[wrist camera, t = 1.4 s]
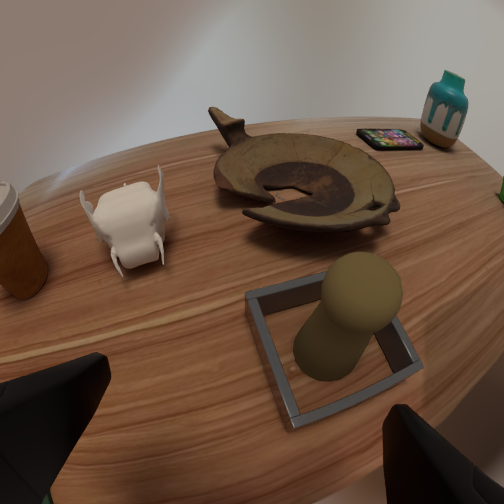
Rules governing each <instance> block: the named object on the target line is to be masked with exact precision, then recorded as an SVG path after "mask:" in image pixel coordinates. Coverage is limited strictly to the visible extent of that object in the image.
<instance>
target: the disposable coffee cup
mask: <svg viewBox="0 0 504 504" xmlns="http://www.w3.org/2000/svg"><path fill="white" fill-rule="evenodd" d="M47 273H48V267H47V264H46V262H45V260H44V258H43V256H42V254H41V252H40V250H39V248H38V246H37V244H36V242H35V240H34V237H33V235H32V233H31V231H30V228H29V226H28V224H27V221H26V219H25V216H24V214H23V211H22V209H21V206H20V204H19V193H18V190H17V189H16V188H14V187H12V186H11V184H10V183H9V182H6V181H2V182H0V284H1V285H2V286H3V287H4V288H6V289H7V290H8V291H9V292H10V293H12V294H13V295H14V296H15V297H16V298H18V299H27V298H30V297H32V296H33V295H34V294H36V293H37V292H38V291H39V290H40V288H41V287H42V286H43V284H44V282H45V280H46V277H47Z"/></svg>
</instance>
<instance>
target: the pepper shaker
mask: <svg viewBox="0 0 504 504" xmlns="http://www.w3.org/2000/svg"><path fill="white" fill-rule="evenodd" d="M402 297H403V291H402V285H401V280H400V277H399V275H398V274H397V272H396V270H395V269H394V268H393V267H392V266H391V264H390V263H389V262H387V261H386V260H384V259H383V258H381V257H380V256H377V255H375V254H372V253H368V252H353V253H349V254H347V255H345V256H343V257H340V258H338V259H337V260H336V261H335V262H334V263H333V264H332V265H331V266H330V268H329V269H328V270H327V272H326V274H325V277H324V279H323V282H322V285H321V302H320V304H319V305H318V306H317V308H316V309H315V311H314V312H313V313H312V315H311V316H310V317H309V319H308V320H307V322H306V323H305V324H304V326H303V327H302V328H301V330H300V331H299V332H298V334H297V336H296V338H295V341H294V349H293V352H294V356H295V360H296V362H297V364H298V365H299V367H300V368H301V370H302V371H303V372H305V373H306V374H307V375H308V376H310V377H312V378H314V379H317V380H320V381H334V380H338V379H341V378H343V377H344V376H346V375H348V374H349V373H350V372H351V371H352V369H353V368H354V367H355V365H356V364H357V362H358V360H359V359H360V357H361V355H362V353H363V352H364V350H365V348H366V346H367V344H368V343H369V341H370V339H371V337H372V335H373V333H374V332H377V331H379V330H381V329H382V328H384V327H385V326H387V325H388V324H389V323H390V322H391V321H392V320H393V319H394V318H395V316H396V314H397V313H398V311H399V309H400V306H401V303H402Z"/></svg>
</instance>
